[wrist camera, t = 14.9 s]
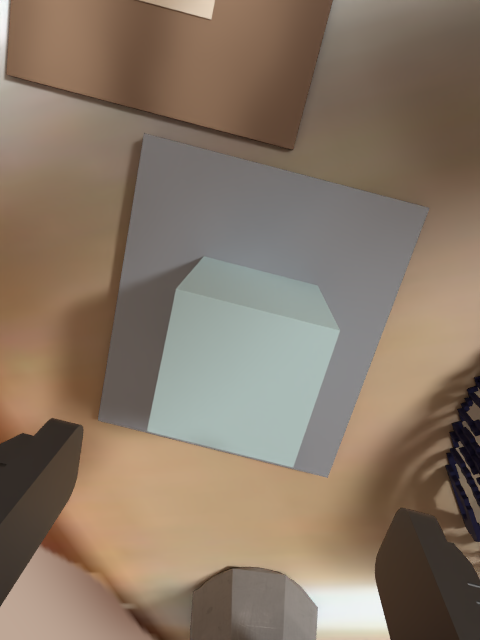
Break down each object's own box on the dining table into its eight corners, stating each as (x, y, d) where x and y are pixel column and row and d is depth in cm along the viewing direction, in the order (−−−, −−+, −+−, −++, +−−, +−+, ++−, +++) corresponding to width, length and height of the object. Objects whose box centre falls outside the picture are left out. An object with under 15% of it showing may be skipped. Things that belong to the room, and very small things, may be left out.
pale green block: (317, 285, 22) (340, 330, 15) (285, 387, 24) (293, 467, 17) (203, 256, 22) (176, 288, 15) (180, 361, 24) (146, 431, 17)
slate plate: (423, 206, 21) (429, 207, 20) (325, 468, 26) (327, 477, 25) (148, 134, 21) (144, 133, 20) (102, 413, 26) (97, 420, 25)
